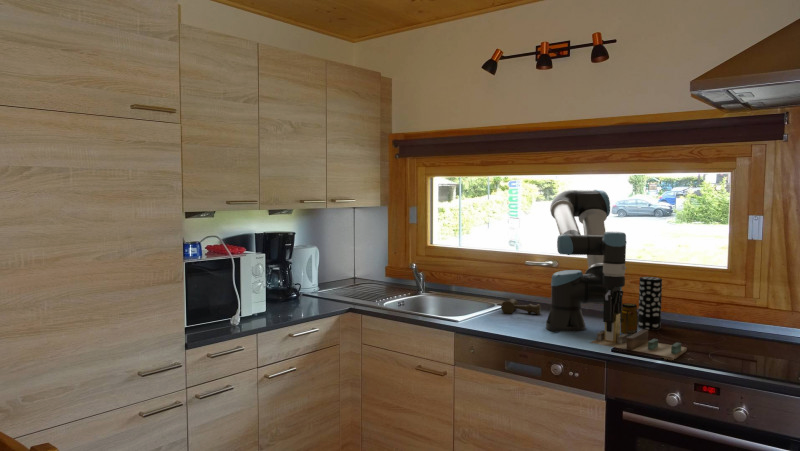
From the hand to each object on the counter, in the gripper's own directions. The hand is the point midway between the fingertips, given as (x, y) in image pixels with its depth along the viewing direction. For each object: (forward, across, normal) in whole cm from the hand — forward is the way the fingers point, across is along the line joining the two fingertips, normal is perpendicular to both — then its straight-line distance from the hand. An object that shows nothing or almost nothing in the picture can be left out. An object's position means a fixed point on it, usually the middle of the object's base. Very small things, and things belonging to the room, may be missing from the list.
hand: (612, 338), depth 209 cm
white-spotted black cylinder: (+2, +35, -2) cm, 35 cm away
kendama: (+2, +25, +52) cm, 58 cm away
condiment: (+2, +17, -1) cm, 17 cm away
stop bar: (+1, 0, 0) cm, 1 cm away
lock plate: (+2, 0, -9) cm, 9 cm away
